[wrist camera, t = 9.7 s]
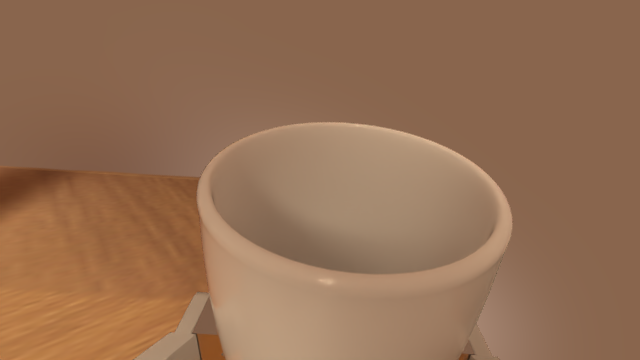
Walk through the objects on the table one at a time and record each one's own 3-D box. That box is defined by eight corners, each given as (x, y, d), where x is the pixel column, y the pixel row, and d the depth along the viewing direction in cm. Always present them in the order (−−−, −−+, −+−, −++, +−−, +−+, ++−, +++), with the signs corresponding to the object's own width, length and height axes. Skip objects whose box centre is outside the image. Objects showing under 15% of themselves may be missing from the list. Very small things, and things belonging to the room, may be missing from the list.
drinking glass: (340, 354, 18) (377, 110, 11) (423, 491, 13) (595, 213, 6) (227, 414, 15) (170, 137, 8) (279, 620, 10) (254, 393, 3)
